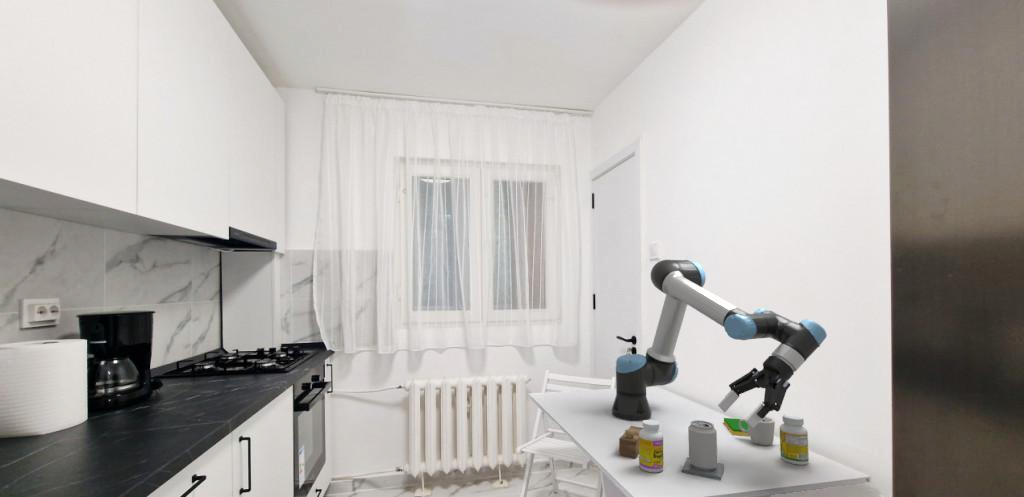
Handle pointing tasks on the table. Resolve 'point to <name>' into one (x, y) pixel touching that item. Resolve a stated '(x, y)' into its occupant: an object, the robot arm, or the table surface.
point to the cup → (760, 431)
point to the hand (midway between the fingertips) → (734, 416)
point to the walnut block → (630, 442)
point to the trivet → (710, 474)
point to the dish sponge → (735, 426)
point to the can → (702, 445)
